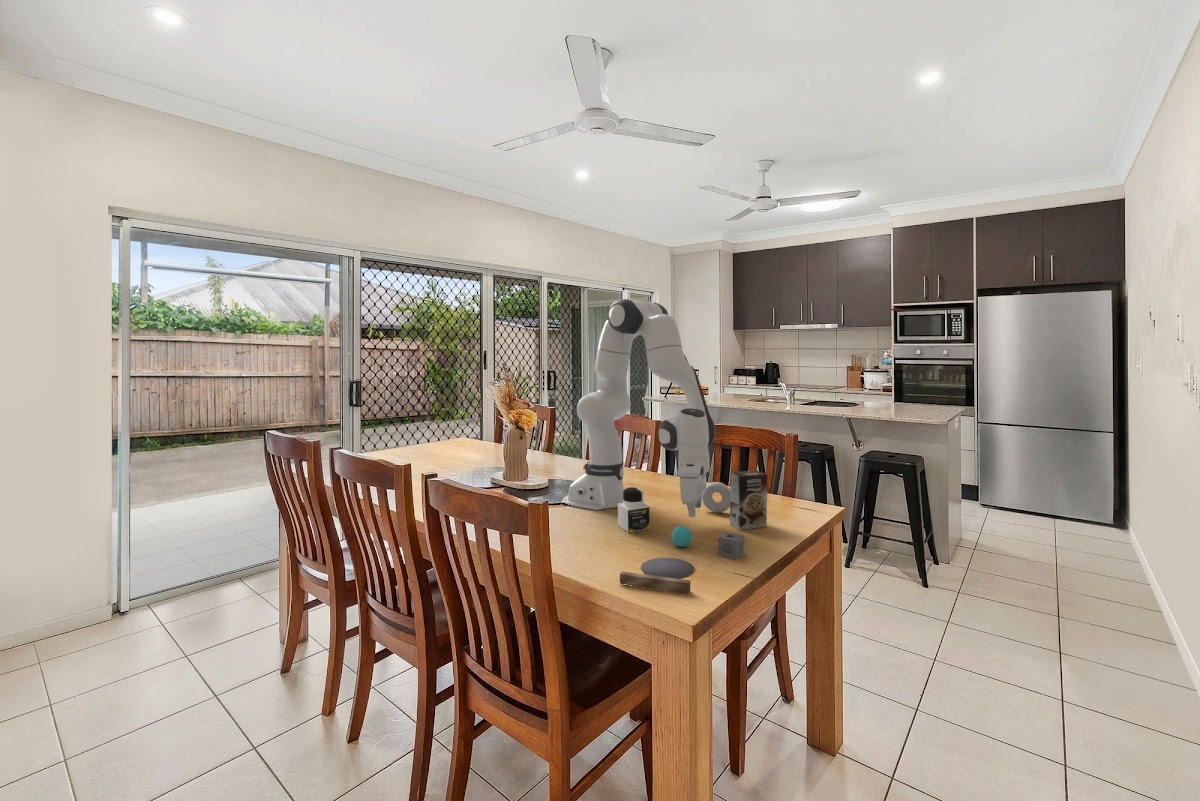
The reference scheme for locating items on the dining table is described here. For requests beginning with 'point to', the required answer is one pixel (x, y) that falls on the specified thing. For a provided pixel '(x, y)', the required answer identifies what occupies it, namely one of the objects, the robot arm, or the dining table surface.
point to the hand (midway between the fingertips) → (695, 511)
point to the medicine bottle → (633, 511)
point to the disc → (667, 567)
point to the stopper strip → (655, 582)
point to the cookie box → (748, 500)
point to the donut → (708, 499)
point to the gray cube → (731, 545)
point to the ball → (681, 536)
